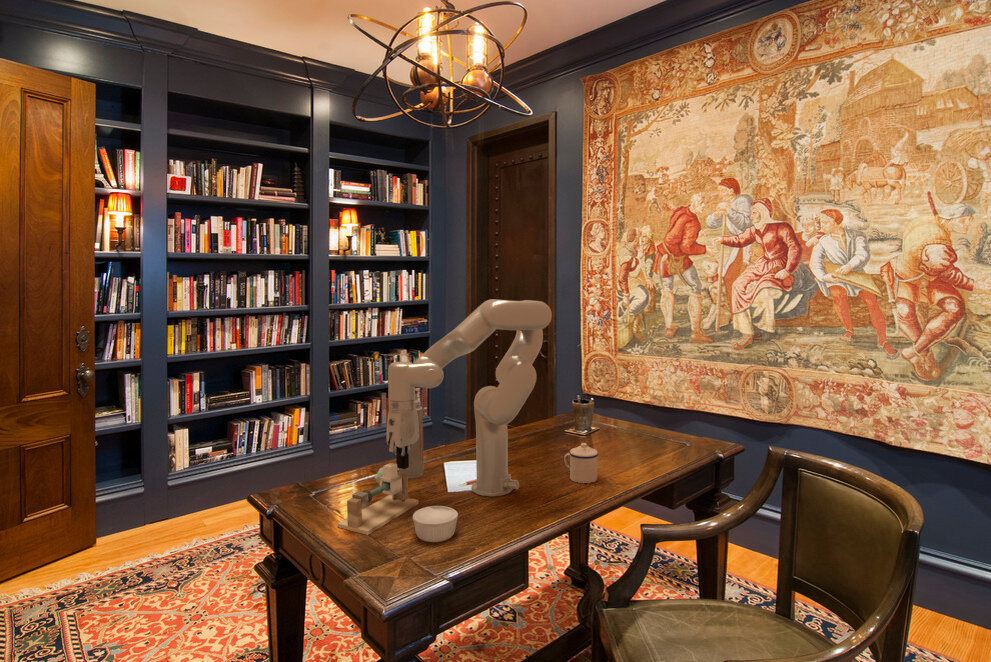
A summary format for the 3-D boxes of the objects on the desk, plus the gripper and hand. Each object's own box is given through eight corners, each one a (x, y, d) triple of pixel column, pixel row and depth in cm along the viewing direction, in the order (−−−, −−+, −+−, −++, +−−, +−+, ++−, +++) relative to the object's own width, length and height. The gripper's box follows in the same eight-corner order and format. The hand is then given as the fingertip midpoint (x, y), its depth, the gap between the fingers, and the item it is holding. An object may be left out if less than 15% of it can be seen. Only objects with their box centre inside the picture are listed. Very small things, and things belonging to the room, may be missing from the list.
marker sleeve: (388, 487, 156) (388, 461, 155) (402, 490, 154) (401, 464, 153) (379, 492, 152) (379, 465, 152) (393, 495, 150) (392, 468, 149)
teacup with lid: (603, 478, 175) (603, 443, 174) (587, 486, 169) (587, 449, 168) (572, 470, 184) (573, 436, 183) (556, 477, 177) (556, 442, 176)
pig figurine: (377, 494, 164) (377, 472, 163) (369, 490, 167) (369, 468, 166) (399, 486, 170) (398, 465, 169) (391, 483, 172) (391, 462, 172)
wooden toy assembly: (390, 497, 161) (389, 469, 160) (418, 503, 156) (417, 474, 156) (337, 527, 141) (336, 495, 141) (367, 535, 137) (366, 501, 136)
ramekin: (462, 526, 142) (462, 506, 141) (452, 546, 131) (451, 525, 130) (420, 523, 144) (420, 504, 143) (407, 543, 133) (406, 522, 132)
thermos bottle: (426, 471, 184) (425, 388, 181) (418, 479, 176) (417, 393, 173) (404, 469, 185) (402, 388, 183) (395, 477, 177) (393, 392, 175)
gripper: (396, 411, 148) (397, 477, 149) (427, 401, 161) (427, 462, 163) (374, 408, 151) (375, 473, 153) (406, 399, 165) (407, 458, 166)
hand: (402, 467), depth 158 cm, fingers closed
